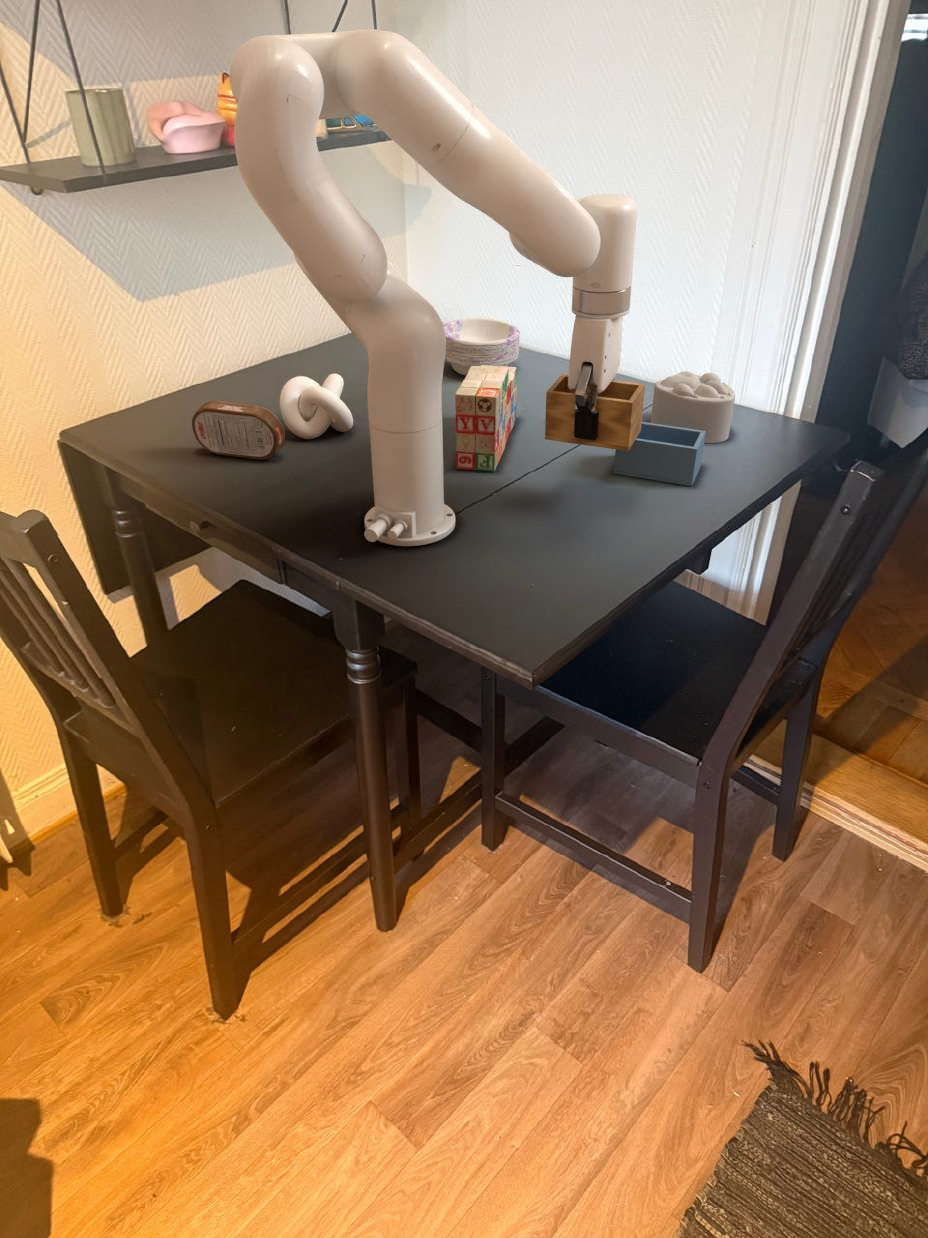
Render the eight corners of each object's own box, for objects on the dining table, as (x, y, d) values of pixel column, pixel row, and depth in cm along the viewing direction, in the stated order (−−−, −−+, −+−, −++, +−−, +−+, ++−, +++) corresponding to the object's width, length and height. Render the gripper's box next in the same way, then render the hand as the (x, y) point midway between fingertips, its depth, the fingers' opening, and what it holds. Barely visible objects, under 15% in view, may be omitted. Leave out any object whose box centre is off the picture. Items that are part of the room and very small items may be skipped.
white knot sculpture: (298, 414, 162) (292, 364, 157) (365, 418, 160) (361, 367, 155) (278, 440, 153) (271, 388, 148) (348, 444, 151) (344, 392, 146)
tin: (288, 456, 148) (282, 406, 143) (280, 464, 145) (273, 413, 140) (203, 446, 151) (194, 396, 146) (193, 454, 149) (184, 404, 144)
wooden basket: (640, 431, 132) (645, 383, 128) (628, 451, 126) (632, 402, 122) (560, 420, 136) (561, 373, 132) (544, 439, 130) (546, 391, 126)
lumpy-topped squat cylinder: (680, 410, 163) (686, 361, 158) (743, 431, 155) (752, 381, 150) (642, 425, 157) (647, 376, 152) (705, 449, 149) (713, 397, 144)
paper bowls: (528, 379, 176) (529, 337, 171) (450, 386, 173) (449, 344, 168) (506, 353, 188) (507, 314, 183) (433, 359, 185) (432, 319, 180)
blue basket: (700, 467, 144) (706, 430, 140) (691, 486, 138) (697, 449, 135) (624, 455, 147) (628, 419, 144) (613, 473, 142) (616, 436, 138)
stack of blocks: (481, 416, 161) (481, 346, 154) (516, 419, 160) (518, 348, 153) (455, 469, 143) (454, 392, 136) (495, 472, 142) (496, 395, 135)
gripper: (591, 279, 128) (584, 401, 138) (552, 316, 115) (548, 448, 125) (645, 284, 126) (634, 408, 136) (611, 321, 112) (603, 456, 123)
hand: (593, 426), depth 130 cm, fingers closed on wooden basket, 7 cm apart
